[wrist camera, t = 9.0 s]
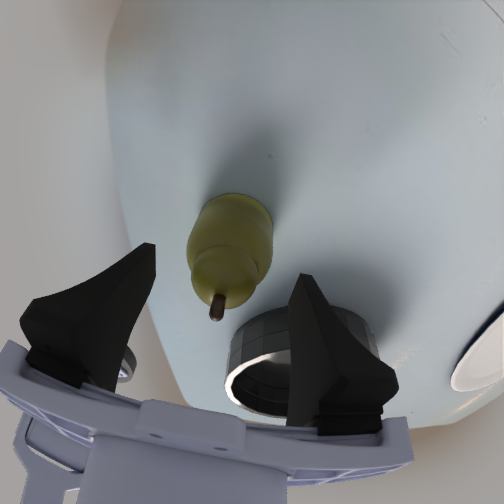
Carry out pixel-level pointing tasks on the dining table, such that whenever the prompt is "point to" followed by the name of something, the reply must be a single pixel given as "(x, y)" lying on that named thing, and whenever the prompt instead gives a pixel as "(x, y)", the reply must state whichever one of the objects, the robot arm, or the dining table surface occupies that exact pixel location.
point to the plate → (482, 359)
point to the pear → (229, 251)
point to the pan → (273, 360)
